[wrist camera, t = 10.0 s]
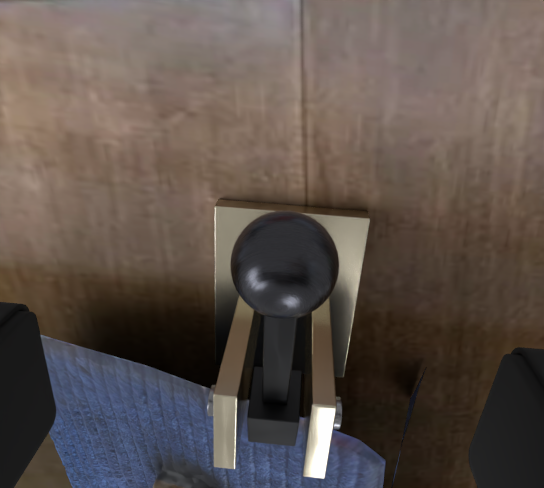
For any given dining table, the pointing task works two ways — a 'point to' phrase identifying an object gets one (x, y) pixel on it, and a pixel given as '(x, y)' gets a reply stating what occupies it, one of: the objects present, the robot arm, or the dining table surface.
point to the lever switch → (281, 309)
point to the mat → (173, 432)
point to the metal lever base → (308, 342)
